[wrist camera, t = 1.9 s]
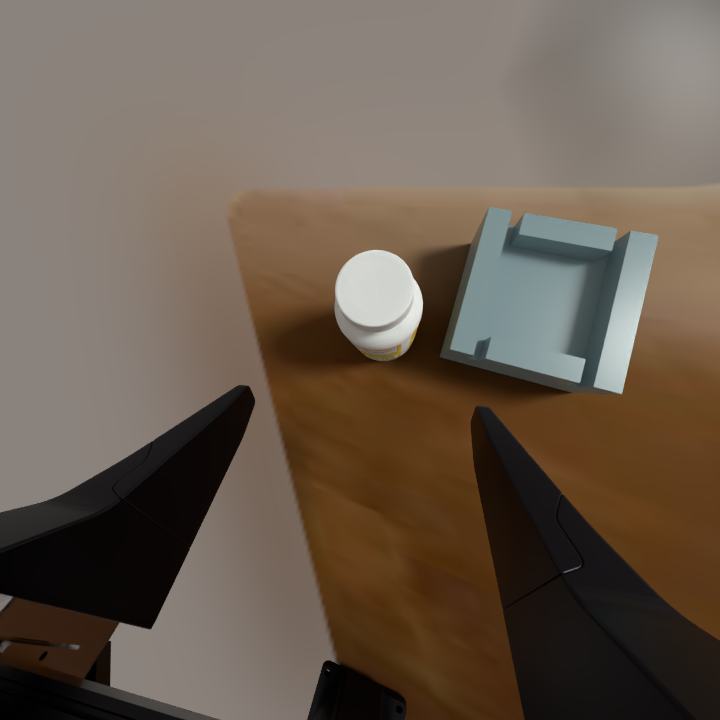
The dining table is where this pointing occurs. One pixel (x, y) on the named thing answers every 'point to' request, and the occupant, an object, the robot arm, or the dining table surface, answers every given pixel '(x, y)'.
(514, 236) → the teal tray
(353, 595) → the dining table surface
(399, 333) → the supplement bottle
